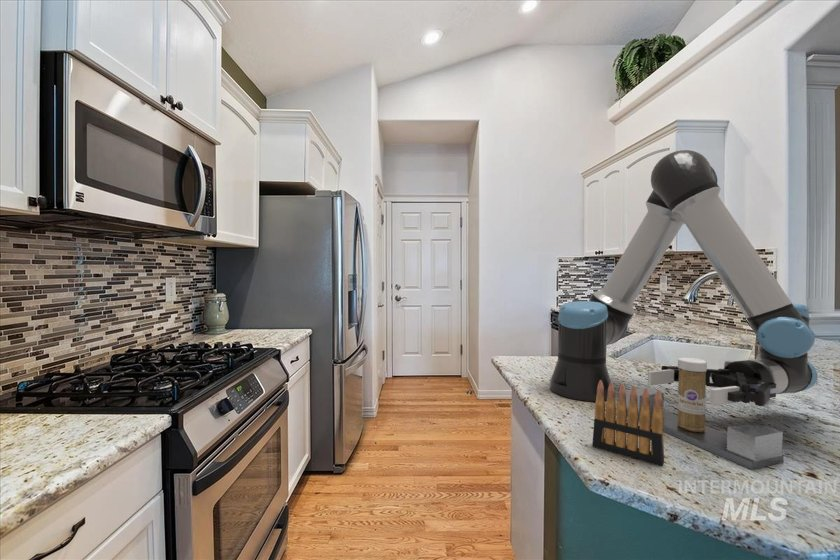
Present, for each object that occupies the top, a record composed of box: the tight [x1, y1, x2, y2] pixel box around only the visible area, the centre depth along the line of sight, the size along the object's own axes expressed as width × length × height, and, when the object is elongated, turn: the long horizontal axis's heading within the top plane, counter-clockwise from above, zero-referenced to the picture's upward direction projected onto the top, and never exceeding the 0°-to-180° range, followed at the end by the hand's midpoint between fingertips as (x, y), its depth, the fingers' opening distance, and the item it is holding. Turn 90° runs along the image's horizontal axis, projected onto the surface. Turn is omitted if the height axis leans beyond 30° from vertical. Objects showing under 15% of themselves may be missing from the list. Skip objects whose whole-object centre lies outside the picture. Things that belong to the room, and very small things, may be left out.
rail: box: [625, 387, 785, 470], centre depth 73 cm, size 25×8×5 cm, turn 19°
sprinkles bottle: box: [677, 356, 708, 432], centre depth 73 cm, size 5×5×14 cm
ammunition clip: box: [591, 380, 665, 467], centre depth 65 cm, size 11×2×12 cm, turn 52°
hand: (678, 387), depth 72 cm, fingers open, 11 cm apart
